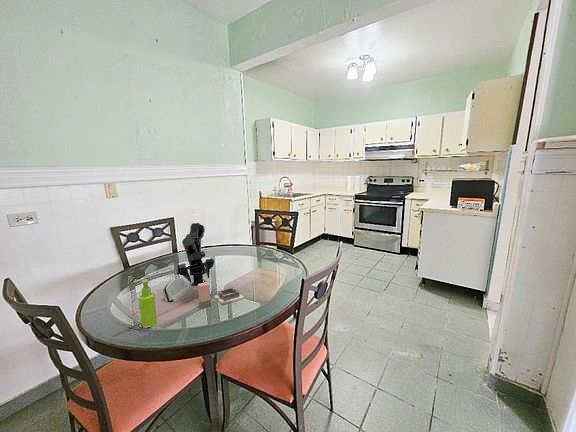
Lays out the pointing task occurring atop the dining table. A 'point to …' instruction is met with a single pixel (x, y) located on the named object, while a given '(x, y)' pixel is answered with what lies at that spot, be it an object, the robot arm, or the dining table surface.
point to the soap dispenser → (147, 305)
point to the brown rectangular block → (204, 294)
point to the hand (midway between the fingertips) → (199, 279)
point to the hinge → (175, 289)
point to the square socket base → (228, 296)
